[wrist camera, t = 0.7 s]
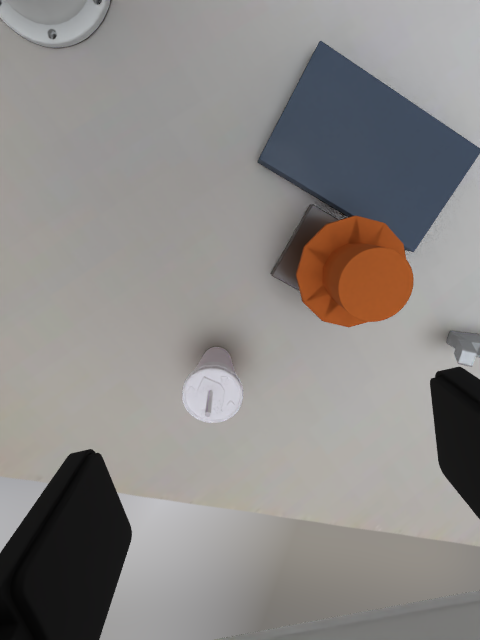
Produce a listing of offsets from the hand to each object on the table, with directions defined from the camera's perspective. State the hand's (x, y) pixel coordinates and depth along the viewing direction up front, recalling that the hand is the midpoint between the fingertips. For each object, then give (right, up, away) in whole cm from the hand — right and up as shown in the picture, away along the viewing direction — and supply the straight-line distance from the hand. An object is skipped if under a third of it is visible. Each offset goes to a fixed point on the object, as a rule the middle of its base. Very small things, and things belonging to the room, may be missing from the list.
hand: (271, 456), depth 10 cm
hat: (+9, +8, +22) cm, 26 cm away
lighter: (+26, +2, +36) cm, 45 cm away
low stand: (+13, +22, +30) cm, 39 cm away
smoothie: (-4, -1, +37) cm, 37 cm away
